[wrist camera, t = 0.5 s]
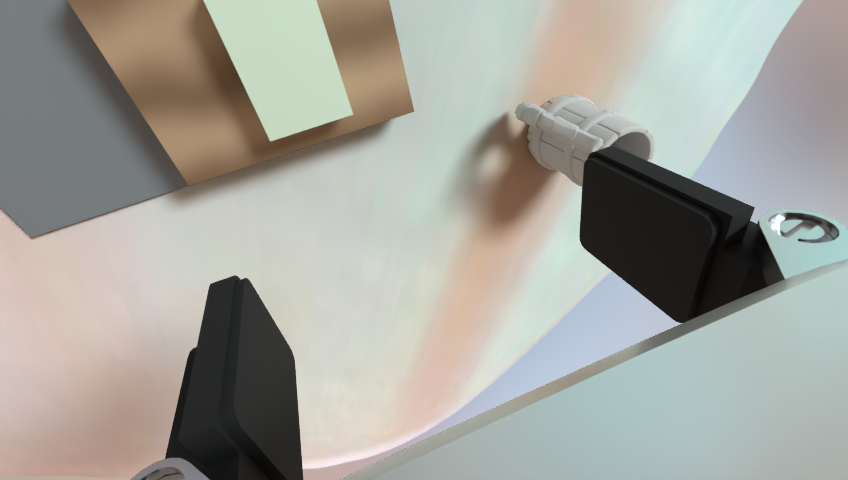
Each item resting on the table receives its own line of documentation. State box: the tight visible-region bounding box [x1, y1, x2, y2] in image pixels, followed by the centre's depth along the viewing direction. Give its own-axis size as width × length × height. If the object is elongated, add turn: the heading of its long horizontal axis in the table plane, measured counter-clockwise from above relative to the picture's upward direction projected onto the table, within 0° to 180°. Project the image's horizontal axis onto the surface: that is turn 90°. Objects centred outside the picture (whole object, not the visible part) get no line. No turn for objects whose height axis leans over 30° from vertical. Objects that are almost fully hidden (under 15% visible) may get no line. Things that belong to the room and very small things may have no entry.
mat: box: [0, 0, 189, 237], centre depth 27 cm, size 15×14×1 cm
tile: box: [203, 0, 353, 141], centre depth 25 cm, size 9×6×2 cm, turn 13°
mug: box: [515, 95, 654, 186], centre depth 35 cm, size 8×12×12 cm, turn 63°
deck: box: [67, 0, 414, 186], centre depth 28 cm, size 13×18×4 cm
